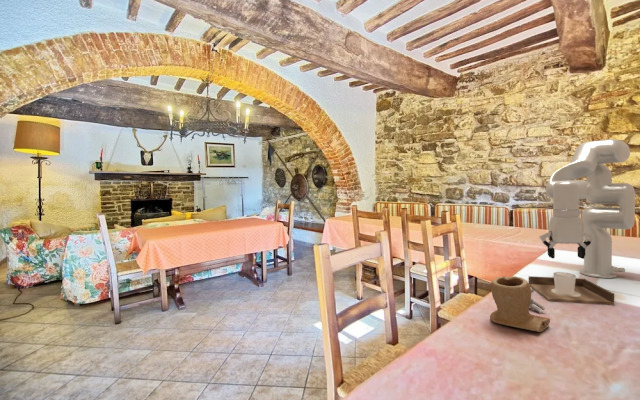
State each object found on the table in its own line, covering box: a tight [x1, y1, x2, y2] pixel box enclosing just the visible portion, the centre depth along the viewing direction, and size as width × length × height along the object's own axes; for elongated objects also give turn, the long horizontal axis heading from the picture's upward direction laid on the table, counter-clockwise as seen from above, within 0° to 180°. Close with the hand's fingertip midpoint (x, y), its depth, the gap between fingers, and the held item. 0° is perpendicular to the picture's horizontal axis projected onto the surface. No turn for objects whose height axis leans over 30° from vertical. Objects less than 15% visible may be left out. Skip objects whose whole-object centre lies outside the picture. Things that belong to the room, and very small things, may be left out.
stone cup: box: [489, 275, 551, 333], centre depth 93 cm, size 15×12×15 cm
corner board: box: [528, 276, 615, 306], centre depth 118 cm, size 20×18×4 cm
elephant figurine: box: [529, 289, 546, 314], centre depth 105 cm, size 10×6×9 cm
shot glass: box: [553, 271, 577, 295], centre depth 117 cm, size 7×7×7 cm
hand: (566, 257), depth 117 cm, fingers open, 9 cm apart
